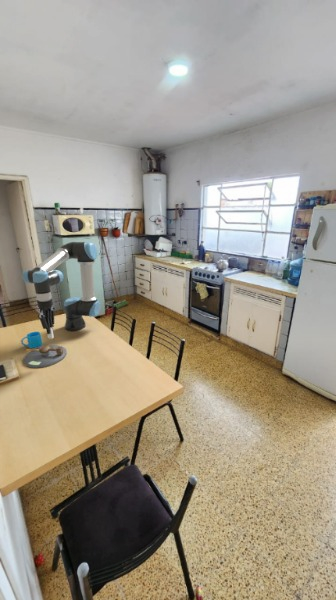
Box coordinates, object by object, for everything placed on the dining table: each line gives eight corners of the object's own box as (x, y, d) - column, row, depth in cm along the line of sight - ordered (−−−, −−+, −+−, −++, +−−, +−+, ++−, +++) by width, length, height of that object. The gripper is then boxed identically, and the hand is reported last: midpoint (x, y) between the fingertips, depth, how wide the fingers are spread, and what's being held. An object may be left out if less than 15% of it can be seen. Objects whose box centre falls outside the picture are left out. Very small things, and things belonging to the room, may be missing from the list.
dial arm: (64, 351, 158) (63, 345, 156) (60, 356, 152) (59, 350, 151) (29, 351, 157) (28, 345, 156) (24, 356, 152) (23, 350, 150)
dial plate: (56, 343, 171) (56, 337, 170) (73, 356, 155) (72, 350, 154) (18, 356, 155) (16, 351, 154) (32, 373, 139) (30, 367, 138)
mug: (42, 341, 174) (40, 330, 171) (42, 346, 167) (40, 335, 164) (22, 345, 169) (20, 334, 166) (21, 350, 162) (19, 339, 159)
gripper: (44, 295, 145) (51, 332, 152) (30, 303, 133) (38, 342, 140) (57, 296, 144) (62, 333, 152) (44, 303, 132) (50, 343, 139)
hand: (50, 337), depth 146 cm, fingers closed
